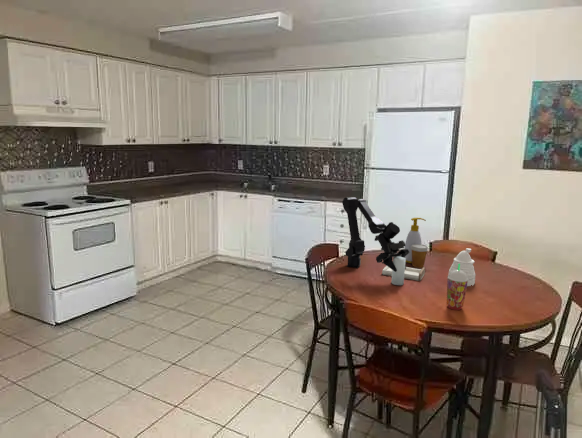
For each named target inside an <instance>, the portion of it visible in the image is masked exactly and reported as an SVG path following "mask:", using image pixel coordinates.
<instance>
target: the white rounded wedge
mask: <svg viewBox="0 0 582 438" xmlns="http://www.w3.org/2000/svg"><path fill="white" fill-rule="evenodd" d="M392 261H393V263H394V265H395V267H396V270H397V271H396V272H395V271H393V270H392V276H391V282H390V283H391V284H392V285H395V286H403V285H404V283H405V278H404V274H405V266H406V263H407V262H406V258H404V257H392Z"/></svg>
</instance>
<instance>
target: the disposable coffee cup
mask: <svg viewBox="0 0 582 438" xmlns="http://www.w3.org/2000/svg"><path fill="white" fill-rule="evenodd" d="M411 249H412V263H411V264H412V268H416V269H422V268H423V267H424V266H425V262H426V257H427V254H428V250H429V246H428V245H426V244H422V243H421V244H413V245H412V247H411Z"/></svg>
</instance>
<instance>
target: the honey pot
mask: <svg viewBox="0 0 582 438" xmlns="http://www.w3.org/2000/svg"><path fill="white" fill-rule="evenodd" d="M471 252H472V248H465V250H462V251H460V252H459V253H458V254H457V255H456V256H455V257H454V258H453V262H452V264H451V266H450V268H449V270H448V275H449V274H450V273H451V272H452V271H453V270H458V264H460V270H462V271H463V272H465V274H466V276H467V278H468V283H467V287H472V286H475V282H476V272H475V267H474V264H475V260H474V259H472V257H471V255H470V254H469V253H471ZM471 285H472V286H471Z"/></svg>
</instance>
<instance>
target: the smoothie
mask: <svg viewBox="0 0 582 438" xmlns="http://www.w3.org/2000/svg"><path fill="white" fill-rule="evenodd" d="M446 280H447V283H446V287H447V288H446V305H447V308H449V309H450V310H453V311H460V310H462V308H463V307H464V303H465V298H466V292H467V287H468V286H467V283H468V278H467V276H466V274H465V272H463V271H462V270H460V264H458V270H453V271H452V272H451V273H450V274H449V273H448V274H447V279H446Z"/></svg>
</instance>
